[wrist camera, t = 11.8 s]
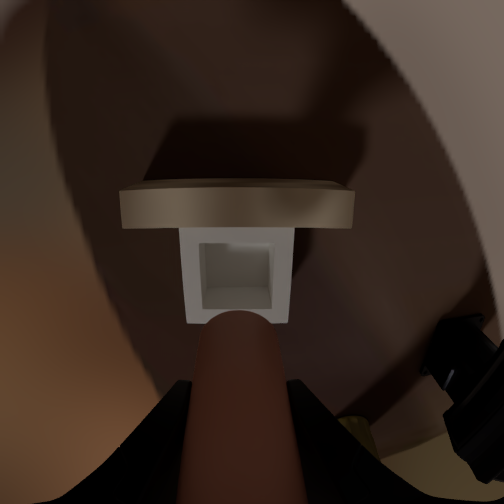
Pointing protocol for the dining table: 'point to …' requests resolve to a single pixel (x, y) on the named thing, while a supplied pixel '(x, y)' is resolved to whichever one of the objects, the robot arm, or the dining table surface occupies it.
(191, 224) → the backstop
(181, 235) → the socket block
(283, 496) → the peg
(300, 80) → the dining table surface
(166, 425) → the robot arm
